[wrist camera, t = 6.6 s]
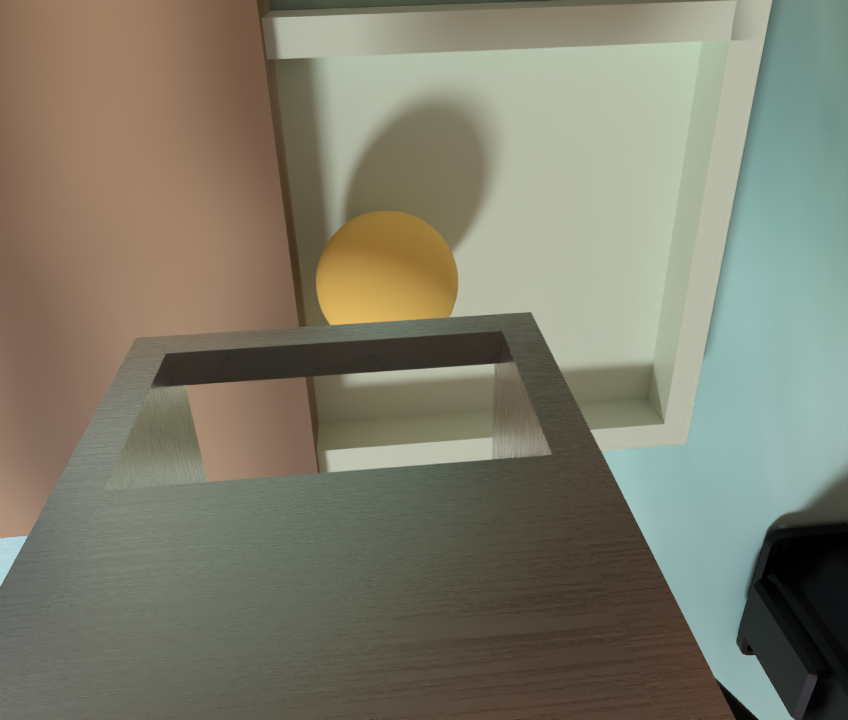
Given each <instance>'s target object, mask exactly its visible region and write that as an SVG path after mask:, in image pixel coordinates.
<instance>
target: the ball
mask: <svg viewBox="0 0 848 720" xmlns="http://www.w3.org/2000/svg"><path fill="white" fill-rule="evenodd" d="M316 290H317V296H318V300H319V304H320V307H321V309H322V312H323V314H324V316H325V318H326V319H327V321H328V322H329V324H330V325H340V324H355V323H371V322H386V321H401V320H416V319H432V318H447V317H450V315H451V313H452V311H453V308H454V305H455V302H456V299H457V294H458V271H457V266H456V262H455V259H454V256H453V254H452V252H451V250H450V248H449V246H448V245H447V243H446V242H445V240H444V239H443V238H442V236H441V235H440V234H439V233H438V232H437V231H436V230H435V229H434V228H433V227H432V226H430V225H429V224H428V223H426V222H425V221H423V220H421V219H419V218H417V217H415V216H413V215H410V214H407V213H403V212H398V211H376V212H370V213H367V214H364V215H361V216H359V217H356V218H354V219H352V220H351V221H349V222H348V223H346V224H345V225H343V226H342V227H341V228H340V229H339V230H338V231H337V232H336V233H335V234H334V235H333V236H332V237H331V239H330V240H329V241H328V243H327V245H326V246H325V248H324V250H323V252H322V254H321V257H320V260H319V263H318V267H317V274H316Z"/></svg>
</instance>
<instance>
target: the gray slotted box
mask: <svg viewBox="0 0 848 720" xmlns="http://www.w3.org/2000/svg"><path fill="white" fill-rule="evenodd" d="M484 364H494V395H493V434H492V459H491V460H478V461H466V462H453V463H440V464H428V465H415V466H402V467H390V468H377V469H364V470H352V471H339V472H326V473H314V474H301V475H288V476H276V477H263V478H250V479H238V480H225V481H212V482H207V478H206V474H205V470H204V465H203V461H202V456H201V452H200V448H199V443H198V439H197V435H196V430H195V426H194V421H193V417H192V413H191V408H190V404H189V400H188V395H187V391H186V386H185V385H198V384H212V383H227V382H241V381H255V380H270V379H284V378H298V377H312V376H327V375H341V374H355V373H370V372H384V371H398V370H412V369H427V368H441V367H455V366H470V365H484ZM0 720H736V719H735V717H734V715H733V713H732V711H731V709H730V707H729V705H728V703H727V701H726V699H725V697H724V695H723V693H722V691H721V689H720V687H719V685H718V683H717V681H716V679H715V677H714V675H713V673H712V671H711V669H710V667H709V665H708V663H707V661H706V659H705V657H704V655H703V653H702V651H701V649H700V647H699V645H698V643H697V641H696V639H695V638H694V636H693V634H692V632H691V630H690V628H689V626H688V624H687V622H686V620H685V618H684V616H683V614H682V612H681V610H680V608H679V606H678V604H677V602H676V600H675V598H674V596H673V594H672V592H671V590H670V588H669V586H668V584H667V582H666V580H665V578H664V576H663V574H662V572H661V570H660V568H659V566H658V564H657V562H656V560H655V558H654V556H653V554H652V552H651V550H650V548H649V546H648V544H647V542H646V540H645V538H644V536H643V534H642V532H641V530H640V528H639V526H638V524H637V522H636V520H635V518H634V516H633V514H632V512H631V510H630V508H629V506H628V504H627V502H626V500H625V498H624V496H623V494H622V492H621V490H620V488H619V486H618V484H617V482H616V480H615V478H614V476H613V474H612V472H611V470H610V468H609V466H608V464H607V462H606V460H605V458H604V456H603V454H602V452H601V450H600V448H599V446H598V444H597V442H596V440H595V438H594V436H593V434H592V432H591V430H590V428H589V426H588V424H587V423H586V421H585V419H584V417H583V415H582V413H581V411H580V409H579V407H578V405H577V403H576V401H575V399H574V397H573V395H572V393H571V391H570V389H569V387H568V385H567V383H566V381H565V379H564V377H563V375H562V373H561V371H560V369H559V367H558V365H557V363H556V361H555V359H554V357H553V355H552V353H551V351H550V349H549V347H548V345H547V343H546V341H545V339H544V337H543V335H542V333H541V331H540V329H539V327H538V325H537V323H536V321H535V319H534V317H533V315H532V313H531V312H524V313H508V314H493V315H478V316H462V317H447V318H432V319H416V320H401V321H386V322H371V323H355V324H340V325H325V326H309V327H294V328H279V329H264V330H248V331H233V332H218V333H202V334H187V335H172V336H157V337H141V338H136V339H135V341H134V342H133V344H132V346H131V348H130V350H129V352H128V353H127V355H126V357H125V359H124V361H123V363H122V365H121V366H120V368H119V370H118V372H117V374H116V376H115V377H114V379H113V381H112V383H111V385H110V387H109V388H108V390H107V392H106V394H105V396H104V398H103V399H102V401H101V403H100V405H99V407H98V409H97V410H96V412H95V414H94V416H93V418H92V420H91V421H90V423H89V425H88V427H87V429H86V431H85V432H84V434H83V436H82V438H81V440H80V442H79V443H78V445H77V447H76V449H75V451H74V453H73V454H72V456H71V458H70V460H69V462H68V464H67V465H66V467H65V469H64V471H63V473H62V475H61V476H60V478H59V480H58V482H57V484H56V486H55V488H54V489H53V491H52V493H51V495H50V497H49V499H48V500H47V502H46V504H45V506H44V508H43V510H42V511H41V513H40V515H39V517H38V519H37V521H36V522H35V524H34V526H33V528H32V530H31V532H30V533H29V535H28V537H27V539H26V541H25V543H24V544H23V546H22V548H21V550H20V552H19V554H18V555H17V557H16V559H15V561H14V563H13V565H12V566H11V568H10V570H9V572H8V574H7V576H6V577H5V579H4V581H3V583H2V585H1V587H0Z"/></svg>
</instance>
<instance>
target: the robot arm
mask: <svg viewBox="0 0 848 720" xmlns="http://www.w3.org/2000/svg"><path fill="white" fill-rule="evenodd" d="M736 643H737V645H738V647H739V649H740V650H741V652H742V653H743V654H745V655H756V657H757V659H758V660H759V662H760V664H761V665H762V667H763V669H764V671H765V672H766V674H767V676H768V678H769V679H770V681H771V683H772V685H773V686H774V688H775V690H776V691H777V693H778V695H779V697H780V698H781V700H782V702H783V704H784V705H785V707H786V709H787V710H788V712H789V714H790V716H791V717H792V718H794V719H795V720H848V524H838V525H827V526H816V527H805V528H793V529H782V530H777V531H774V532H772V533H770V534H769V535H768V536H767V537H766V539H765V542H764V545H763V549H762V552H761V556H760V559H759V563H758V566H757V570H756V573H755V577H754V580H753V584H752V586H751V589H750V593H749V596H748V600H747V603H746V607H745V610H744V614H743V617H742V621H741V624H740V629H739V633H738V636H737V640H736ZM715 679H716V678H715ZM716 681H717V683H718V685H719V687H720V689H721V691H722V693H723V695H724V697H725V699H726V701H727V703H728V705H729V707H730V709H731V711H732V713H733V715H734V717H735V719H736V720H759V719H758V718H756V717H755V716H754V715H753V714H752V713H751V712H750V711H749V710H748V709H747V708H746V707H745V706H744V705H743V704H742V703H741V702H740V701H739V700H738V699H737V698H736V697H735V696H733V695H732V694H731V693H730V692H729V691H728V690H727V689H726V688H725V687H724V686H723V685H722V684H721V683H720V682H719V681H718V680H717V679H716Z"/></svg>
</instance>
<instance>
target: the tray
mask: <svg viewBox="0 0 848 720" xmlns="http://www.w3.org/2000/svg"><path fill="white" fill-rule="evenodd" d="M771 4H772V0H550V1H523V2H496V3H469V4H442V5H415V6H389V7H362V8H335V9H308V10H281V11H270V12H269V13H267V14H266V15H265V16H264V17H262V24H263V32H264V40H265V47H266V55H267V60H268V59H274V64H275V72H276V80H277V88H278V97H279V105H280V113H281V121H282V129H283V137H284V145H285V153H286V162H287V170H288V178H289V186H290V194H291V202H292V210H293V218H294V227H295V235H296V243H297V251H298V259H299V267H300V275H301V284H302V292H303V300H304V308H305V316H306V324H307V327H309V326H325V325H330V324H329V322H328V321H327V319H326V318H325V316H324V314H323V312H322V309H321V307H320V304H319V300H318V296H317V290H316V274H317V267H318V263H319V260H320V257H321V254H322V252H323V250H324V248H325V246H326V245H327V243H328V241H329V240H330V239H331V237H332V236H333V235H334V234H335V233H336V232H337V231H338V230H339V229H340V228H341V227H342V226H343V225H345V224H346V223H348V222H349V221H351V220H352V219H354V218H356V217H359V216H361V215H364V214H367V213H370V212H376V211H398V212H403V213H407V214H410V215H413V216H415V217H417V218H419V219H421V220H423V221H425V222H426V223H428V224H429V225H430V226H432V227H433V228H434V229H435V230H436V231H437V232H438V233H439V234H440V235H441V236H442V238H443V239H444V240H445V242H446V243H447V245H448V246H449V248H450V250H451V252H452V254H453V256H454V259H455V262H456V266H457V271H458V294H457V299H456V302H455V305H454V308H453V311H452V313H451V315H450V317H462V316H478V315H493V314H508V313H524V312H531V313H532V315H533V317H534V319H535V321H536V323H537V325H538V327H539V329H540V331H541V333H542V335H543V337H544V339H545V341H546V343H547V345H548V347H549V349H550V351H551V353H552V355H553V357H554V359H555V361H556V363H557V365H558V367H559V369H560V371H561V373H562V375H563V377H564V379H565V381H566V383H567V385H568V387H569V389H570V391H571V393H572V395H573V397H574V399H575V401H576V403H577V405H578V407H579V409H580V411H581V413H582V415H583V417H584V419H585V421H586V423H587V424H588V426H589V428H590V430H591V432H592V434H593V436H594V438H595V440H596V442H597V444H598V446H599V448H600V450H601V451H603V450H616V449H628V448H641V447H653V446H666V445H678V444H687V439H688V434H689V429H690V423H691V418H692V413H693V408H694V403H695V398H696V392H697V387H698V382H699V377H700V372H701V366H702V361H703V356H704V351H705V346H706V341H707V335H708V330H709V325H710V320H711V315H712V310H713V304H714V299H715V294H716V289H717V284H718V278H719V273H720V268H721V263H722V258H723V253H724V247H725V242H726V237H727V232H728V227H729V222H730V216H731V211H732V206H733V201H734V196H735V190H736V185H737V180H738V175H739V170H740V165H741V159H742V154H743V149H744V144H745V139H746V134H747V128H748V123H749V118H750V113H751V108H752V102H753V97H754V92H755V87H756V82H757V77H758V71H759V66H760V61H761V56H762V51H763V46H764V40H765V35H766V30H767V25H768V20H769V14H770V9H771ZM313 381H314V389H315V397H316V405H317V414H318V422H319V426H318V442H317V455H318V463H319V471H320V473H326V472H339V471H352V470H364V469H377V468H390V467H402V466H415V465H428V464H440V463H453V462H466V461H478V460H491V459H492V434H493V395H494V364H484V365H470V366H455V367H441V368H427V369H412V370H398V371H384V372H370V373H355V374H341V375H327V376H313Z"/></svg>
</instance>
